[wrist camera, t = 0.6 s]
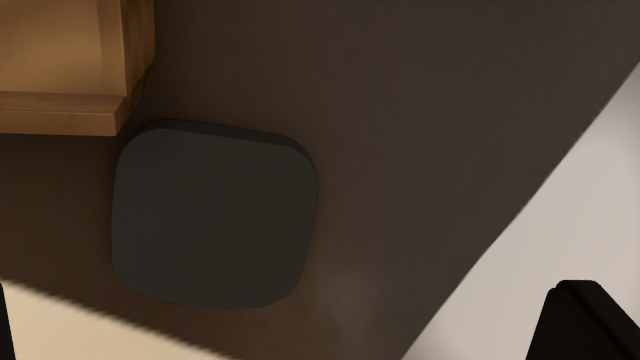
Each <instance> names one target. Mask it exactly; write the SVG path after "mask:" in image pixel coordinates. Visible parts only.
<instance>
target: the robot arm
mask: <svg viewBox="0 0 640 360" xmlns="http://www.w3.org/2000/svg"><path fill="white" fill-rule="evenodd" d="M0 360H16V358H15V353H14V347H13V341H12V336H11V330H10V325H9V319H8V314H7V308H6V303H5V297H4V292H3V287H2V285H1V283H0ZM525 360H640V328H639V327H638V326H637V325H636V323H635V322H634V321H633V320H632V319H631V318H630V317H629V316H628V315H627V314H626V313H625V311H624V310H623V309H622V308H621V307H620V306H619V305H618V304H617V303H616V302H615V301H614V300H613V298H612V297H611V296H610V295H609V294H608V293H607V292H606V291H605V290H604V289H603V288H602V287H601V285H599V284H598V283H597V282H595V281H592V280H562V281H560V282H559V283H558V284H557V285H556V288H552V289H550V290H549V291H548V293H547V296H546V299H545V302H544V305H543V308H542V311H541V314H540V317H539V320H538V323H537V326H536V329H535V332H534V335H533V338H532V341H531V344H530V347H529V350H528V353H527V356H526V359H525Z"/></svg>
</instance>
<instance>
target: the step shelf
mask: <svg viewBox="0 0 640 360" xmlns="http://www.w3.org/2000/svg"><path fill="white" fill-rule="evenodd" d="M156 71H157V65H156V45H155V25H154V5H153V0H0V133H20V134H55V135H90V136H116V135H117V134H118V132H119V130H120V129H121V127H122V126H123V124H124V122H125V121H126V119H127V118H128V116H129V115H130V113H131V111H132V110H133V108H134V106H135V105H136V103H137V102H138V100H139V98H140V97H141V95H142V94H143V92H144V90H145V89H146V87H147V85H148V84H149V82H150V81H151V79H152V77H153V76H154V74H155V73H156Z"/></svg>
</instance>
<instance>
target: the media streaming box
mask: <svg viewBox="0 0 640 360" xmlns="http://www.w3.org/2000/svg"><path fill="white" fill-rule="evenodd" d="M317 192H318V182H317V177H316V173H315V169H314V165H313V163H312V160H311V158H310V156H309V155H308V153H307V152H306V151H305V150H304V149H303V148H302V147H301V146H300V145H299V144H298V143H296V142H295V141H293V140H291V139H290V138H287V137H285V136H280V135H275V134H270V133H265V132H260V131H254V130H248V129H242V128H236V127H230V126H223V125H215V124H208V123H199V122H190V121H180V120H169V119H167V120H159V121H155V122H152V123H149V124H147V125H145V126H143V127H142V128H140V129H139V130H138V131H136V132H135V133H134V134H133V135H132V136H131V138H130V139H129V140H128V142H127V144H126V146H125V147H124V149H123V151H122V153H121V155H120V157H119V159H118V163H117V170H116V177H115V185H114V194H113V206H112V224H111V249H112V264H113V267H114V270H115V272H116V273H117V275H118V276H119V278H120V279H121V280H122V281H123V282H124V283H125V284H126V285H127V286H128V287H129V288H131V289H132V290H133V291H135V292H137V293H138V294H140V295H142V296H145V297H147V298H150V299H155V300H159V301H164V302H170V303H176V304H182V305H189V306H198V307H210V308H258V307H263V306H266V305H269V304H272V303H274V302H276V301H278V300H280V299H281V298H283V297H284V296H286V295H287V294H288V293H289V292H290V291H291V290H292V289H293V288H294V287H295V286H296V284H297V282H298V280H299V277H300V274H301V270H302V267H303V264H304V260H305V256H306V253H307V249H308V244H309V240H310V235H311V230H312V225H313V219H314V213H315V207H316V200H317Z"/></svg>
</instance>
